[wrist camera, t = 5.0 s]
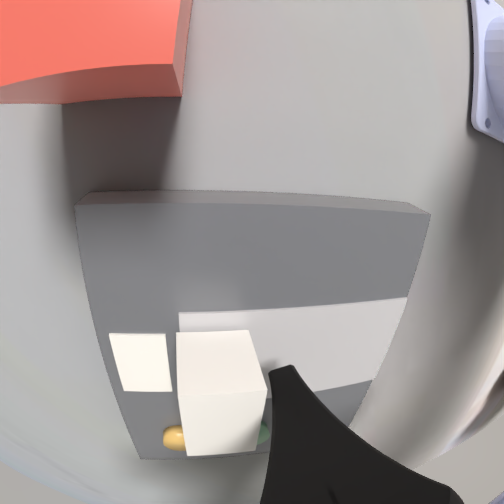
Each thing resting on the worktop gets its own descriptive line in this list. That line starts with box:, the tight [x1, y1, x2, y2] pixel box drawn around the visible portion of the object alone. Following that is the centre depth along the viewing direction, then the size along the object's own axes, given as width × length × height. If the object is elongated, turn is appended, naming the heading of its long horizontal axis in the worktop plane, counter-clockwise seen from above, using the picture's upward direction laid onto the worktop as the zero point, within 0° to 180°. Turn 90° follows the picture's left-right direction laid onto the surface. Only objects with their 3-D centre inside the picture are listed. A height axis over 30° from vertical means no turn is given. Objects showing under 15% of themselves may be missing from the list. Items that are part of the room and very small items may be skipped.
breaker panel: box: [74, 190, 431, 460], centre depth 12 cm, size 12×14×2 cm
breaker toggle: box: [176, 330, 267, 456], centre depth 9 cm, size 2×4×3 cm, turn 175°
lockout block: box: [0, 0, 193, 104], centre depth 4 cm, size 4×4×6 cm
